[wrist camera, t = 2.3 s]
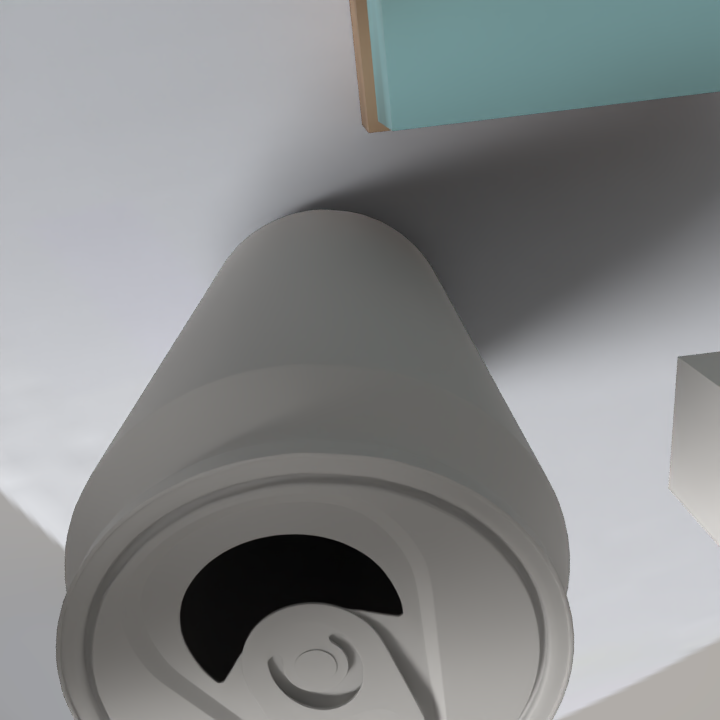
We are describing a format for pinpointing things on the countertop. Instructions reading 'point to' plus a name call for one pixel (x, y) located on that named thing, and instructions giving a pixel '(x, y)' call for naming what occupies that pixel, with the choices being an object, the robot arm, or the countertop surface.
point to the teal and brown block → (526, 56)
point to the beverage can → (318, 509)
